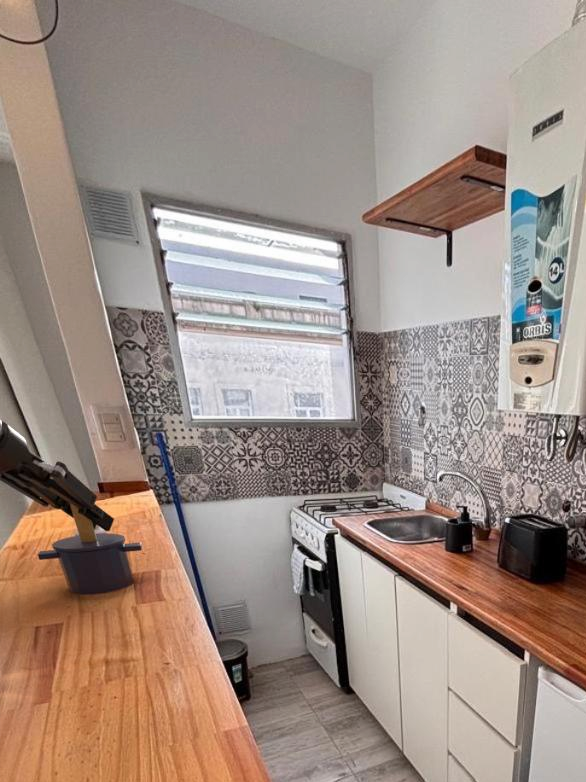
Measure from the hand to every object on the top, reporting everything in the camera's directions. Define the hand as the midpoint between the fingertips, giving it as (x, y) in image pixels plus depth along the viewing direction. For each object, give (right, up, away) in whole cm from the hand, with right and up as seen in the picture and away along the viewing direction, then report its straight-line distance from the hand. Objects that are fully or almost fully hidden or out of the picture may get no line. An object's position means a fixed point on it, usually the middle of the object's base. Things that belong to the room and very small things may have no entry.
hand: (102, 524), depth 97 cm
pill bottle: (-11, -6, +14) cm, 19 cm away
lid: (-1, -4, -2) cm, 5 cm away
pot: (-1, -12, +2) cm, 12 cm away
